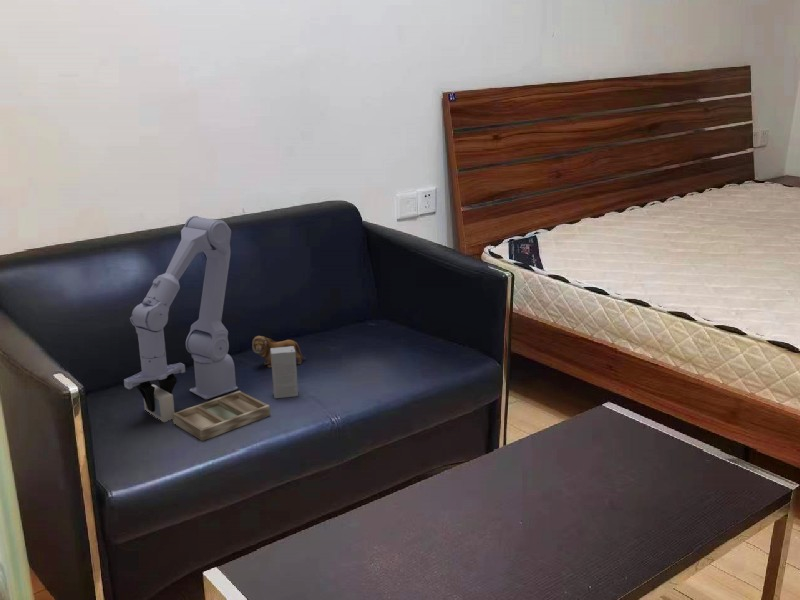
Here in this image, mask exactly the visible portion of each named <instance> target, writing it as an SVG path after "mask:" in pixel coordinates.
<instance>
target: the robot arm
mask: <svg viewBox="0 0 800 600" xmlns="http://www.w3.org/2000/svg"><path fill="white" fill-rule="evenodd" d="M180 235H181V236H180V237H181V239H180V242H179V244H178V245H177V247H176V249H175V252H174V254H173V256H172V258H171V260H170V262H169V264H168V267H167V268H166V271H165V273H162V274H160V275H157V276H156V278H154V279H153V281H152V284H151V286H150V288H149V290H148V292H147V294H146V296H145V297H144V299H143V300H142V302H141V303H139V304H137V305H136V306H135V307H134V308H133V309H132V312H131V317H129V321H130V323H131V324H132V326H133V327H134V328H135V333H136V334H137V339H138V340H137V341H138V349H139V357H140V367H141V368H140V369H141V371H140V372H138V373H135V374H134V375H131V376H129V377H127V378H124V379H123V385H124V388H126V389H128V390H131V389H133V388H134V387H136V389H137V390H138V391H139V393H140V394H141V397H142V398H144V400H145V402H146V405H147V408H148V410H149V411H151V412H154V411H155V404H154V390H155V387H153V386H151V385H152V383H151V382H154V381H156V380H158V384H159V385H158V386H159V387H160V388H161V389H163V390H165V391H167V392H168V393H170V394H172V395H173V390H174V388H175V386H176V384H177V381H178V380H177V377H176V376H175V375H176V374H179V373H180V374H183V373H186V364H184V363H182V362H178V363H173V364H168V361H167V351H166V342H165V331H164V328H165V326H166V325H167V324H168V321H169V312H170V306H171V305H172V303H173V301H174V299H175V297H176V296H177V294H178V292H179V291H180V288H181V286H180V282H179V281H180V279H181V277H182V276H183V274H184V273H185V271H186V269H187V268H188V267H189V265H190V264H191V262H192V261H193V260H194V259H195V256H196V255H197V254H199V253H203V254H204V255H205V256H206V263H205V269H204V278H203V286H202V290H201V291H202V294H201V300H200V306H199V314H198V319H197V320H196V321H194V322H193V323H192V324H191V325H190V329H189V333H188V335H187V336H186V340H185V348H186V349H185V350H186V351H187V352H188V353H189V354H191V359H193V366H194V369H193V370H194V379H195V387H192V388H189V392H191V393H192V394H195V395H196V396H198V397H200V398H202V399H203V400H209V399H212V398H213V399H214V398H215V397H219V396H222V395H225V394H228V393H229V392H233V391H235V390H236V391H237V390H238V386H237V383H236V369H235V368H236V367H235V362H234V360H233V358H232V356H231V355H230V354H229V353H228V352H229V348H230V345H229V337H228V336H229V331H228V329H227V328H226V327H225V325H224V324H223V323H222V320H223V311H224V305H225V297H226V289H227V283H228V282H227V281H228V276H229V275H228V274H229V268H230V260H231V255H232V253H231V252H232V251H231V250H232V249H231V237H232V230H231V228H230V226H229V225H228V224H227V223H226V221H225V220H221V219H215V218H214V219H212V218H208V217H200V216H198V215H197V216H196V215H193V216H190V217H189V218H188V219H187V220H186V221H185V224H184V226H183V228H182V229H181V230H180ZM144 400H143V401H144Z"/></svg>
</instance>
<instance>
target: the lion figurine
mask: <svg viewBox="0 0 800 600" xmlns="http://www.w3.org/2000/svg"><path fill="white" fill-rule="evenodd" d="M251 344H252V345H251V346H252V347H251V348H252V351H253V352H254V353H255V354H258V355H259V356H260V357H261V358H265V361H264V363H263V364H264V365H267V368H269V369H270V368H271V369H272V365H271V352H270V348H279V347H290V346H294V349H295V352H296V359H297V360H296V365H297V364H298V365H301V364H302V359H303V360H306V357H305V356H303V354H302V351H301V348H300V346H299V344H298V342H296V341H295V340H293V339H286V340H282V341H276V340H273V339H272V338H268V337H266V336H263V335H256V336H254V338H253V339H252V342H251Z"/></svg>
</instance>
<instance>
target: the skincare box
mask: <svg viewBox="0 0 800 600" xmlns="http://www.w3.org/2000/svg"><path fill="white" fill-rule="evenodd" d="M270 352H271V365H272V367H271V375H272V376H271V377H272V378H271V379H272V390H273V391H272V392H273V399H282V398H292V397H293V398H294V397H298V396H299V386H298V370H297V369H298V368H297V358H296V352H295V349H294V346H290V347H279V348H270Z"/></svg>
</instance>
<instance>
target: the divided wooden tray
mask: <svg viewBox="0 0 800 600" xmlns="http://www.w3.org/2000/svg"><path fill="white" fill-rule="evenodd" d="M269 416H271V407H270V404H267V403H266V402H263V401H261V400H259V399H257V398H255V397H253V396H251V395H249V394H246V393H245V392H243V391H241V390H236V391H234V392H231V393H229V394H228V393H227V394H226V395H225V394H224V395H223V396H222V395H221V396H220V397H219V396H218V397H217V398H213V399H211V400H209V401H204V402H201V403H199V404H196V405H194V406H191V407H187V408H185V409H182V410H179V411H177V412H175V413H173V419H172V423H173V425H175V424H176V426H178V428H180V429H182V430H184V431H185V432H186V433H189V434H190V435H192V436H193V437H195V438H197V439H199V440H200V441H202V442H204V441H206V440H209V439H212V438H215V437H217V436H219V435H222V434H224V433H225V434H226V433H227V432H230V431H233V430H236V429H238V428H241V427H242V426H243V427H244V426H246V425H249V424H252V423H253V422H257V421H259V420H262V419H265V418H267V417H269Z"/></svg>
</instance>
